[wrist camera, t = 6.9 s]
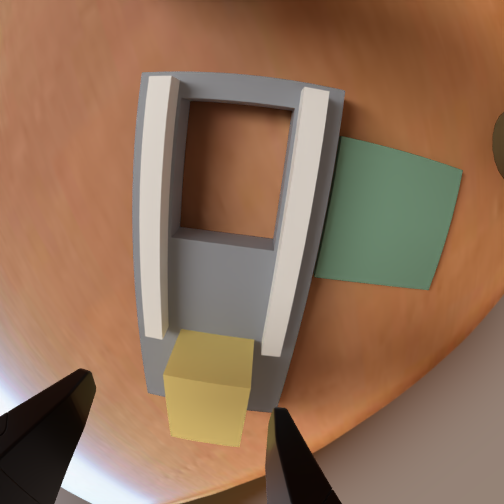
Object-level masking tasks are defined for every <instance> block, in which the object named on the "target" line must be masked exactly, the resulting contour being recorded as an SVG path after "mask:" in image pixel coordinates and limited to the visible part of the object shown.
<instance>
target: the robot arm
mask: <svg viewBox="0 0 504 504" xmlns="http://www.w3.org/2000/svg"><path fill="white" fill-rule="evenodd" d="M95 393H96V385H95V382H94V379H93V376H92V373H91V372H90V371H88V370H85V369H82V368H80V369H78V370H76V371H75V372H73V373H71V374H70V375H68V376H66V377H65V378H63V379H61V380H60V381H58V382H56V383H55V384H53V385H52V386H50V387H48V388H47V389H45V390H43V391H42V392H40V393H38V394H37V395H35V396H33V397H32V398H30V399H28V400H27V401H25V402H23V403H22V404H20V405H18V406H17V407H15V408H13V409H12V410H10V411H9V412H8V413H5V414H3V415H2V416H0V504H54V503H55V500H56V497H57V495H58V492H59V489H60V487H61V484H62V481H63V479H64V476H65V474H66V471H67V468H68V466H69V463H70V461H71V458H72V456H73V454H74V451H75V449H76V446H77V444H78V442H79V439H80V437H81V435H82V432H83V430H84V427H85V424H86V421H87V418H88V415H89V412H90V408H91V405H92V402H93V399H94V396H95ZM265 471H266V489H267V504H342V503H341V502H340V500H339V499H338V497H337V495H336V493H335V492H334V490H332V487H331V486H330V484H329V482H328V481H327V479H326V477H325V476H324V474H323V472H322V470H321V468H320V467H319V465H318V464H317V462H316V460H315V458H314V456H313V455H312V453H311V451H310V449H309V448H308V446H307V444H306V442H305V441H304V439H303V437H302V435H301V434H300V432H299V430H298V428H297V426H296V425H295V423H294V421H293V419H292V417H291V416H290V414H289V412H288V410H287V409H286V408H280V407H274V408H273V410H272V414H271V417H270V420H269V425H268V437H267V449H266V462H265Z"/></svg>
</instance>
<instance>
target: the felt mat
mask: <svg viewBox="0 0 504 504" xmlns="http://www.w3.org/2000/svg"><path fill="white" fill-rule="evenodd" d="M462 172H463V170H460V169H457V168H454V167H452V166H449V165H446V164H443V163H440V162H437V161H434V160H431V159H427V158H424V157H421V156H418V155H414V154H411V153H407V152H404V151H400V150H397V149H393V148H389V147H385V146H382V145H378V144H374V143H369V142H365V141H361V140H357V139H352V138H348V137H343V136H339V142H338V149H337V155H336V161H335V167H334V173H333V179H332V184H331V190H330V195H329V201H328V206H327V211H326V216H325V221H324V226H323V231H322V236H321V241H320V245H319V250H318V255H317V259H316V264H315V268H314V277H317V278H325V279H334V280H342V281H351V282H359V283H368V284H377V285H386V286H395V287H404V288H413V289H423V290H429V288H430V285H431V282H432V279H433V277H434V274H435V271H436V268H437V265H438V262H439V259H440V256H441V253H442V250H443V247H444V244H445V240H446V237H447V234H448V230H449V227H450V223H451V219H452V216H453V212H454V208H455V204H456V200H457V195H458V191H459V186H460V182H461V177H462Z"/></svg>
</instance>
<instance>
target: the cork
mask: <svg viewBox="0 0 504 504" xmlns="http://www.w3.org/2000/svg"><path fill="white" fill-rule="evenodd" d="M493 153H494V160H495V163H496V165H497V168H498V171H499V172H500V174H501V175H502V177H503V178H504V113H502V114H501V115H500V116H499V118H498V120H497V122H496V124H495V128H494V132H493Z"/></svg>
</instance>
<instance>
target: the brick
mask: <svg viewBox="0 0 504 504" xmlns="http://www.w3.org/2000/svg"><path fill="white" fill-rule="evenodd" d="M253 350H254V339H246V338H239V337H231V336H224V335H217V334H210V333H204V332H198V331H191V330H186V329H181V330H180V333H179V335H178V338H177V340H176V343H175V345H174V348H173V350H172V353H171V355H170V358H169V360H168V363H167V366H166V368H165V371H164V373H163V379H164V388H165V397H166V405H167V412H168V420H169V427H170V433H171V436H173V437H178V438H183V439H188V440H193V441H199V442H205V443H211V444H218V445H225V446H233V447H239V446H240V441H241V436H242V431H243V426H244V421H245V416H246V411H247V405H248V400H249V395H250V390H251V378H252V364H253Z"/></svg>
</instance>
